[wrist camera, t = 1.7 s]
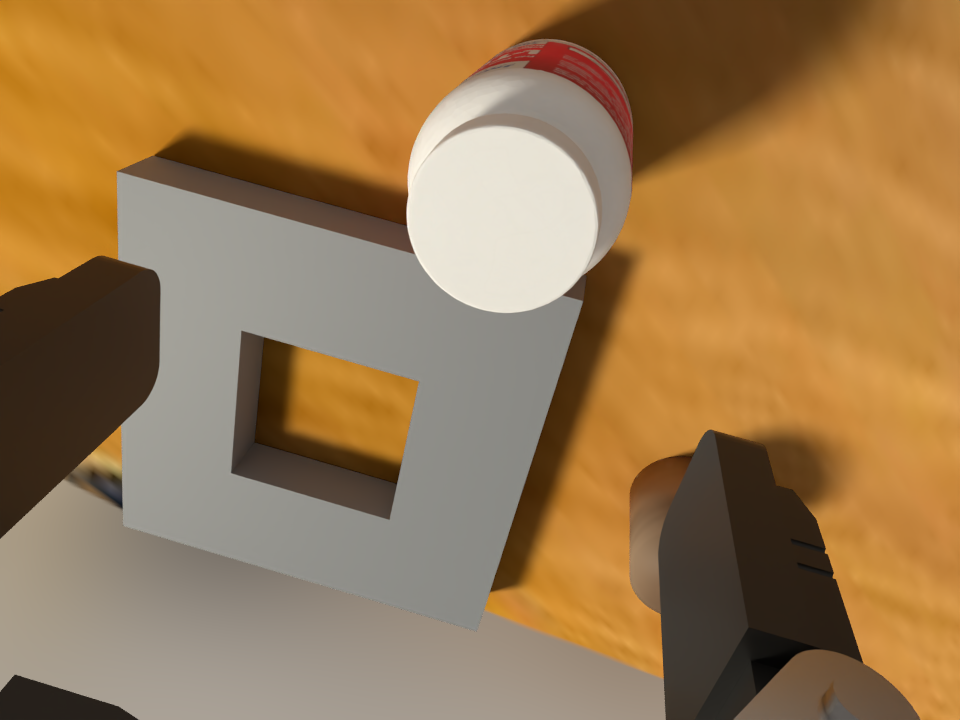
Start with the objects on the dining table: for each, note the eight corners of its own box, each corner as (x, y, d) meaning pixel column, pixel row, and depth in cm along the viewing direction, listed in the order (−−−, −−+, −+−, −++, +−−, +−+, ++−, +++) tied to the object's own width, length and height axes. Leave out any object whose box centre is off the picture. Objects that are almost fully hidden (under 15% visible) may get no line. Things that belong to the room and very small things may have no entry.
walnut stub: (750, 473, 33) (768, 552, 29) (711, 548, 35) (723, 632, 31) (648, 444, 33) (651, 518, 29) (616, 521, 36) (614, 600, 31)
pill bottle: (547, -5, 26) (496, 24, 16) (669, 127, 27) (690, 227, 17) (428, 129, 29) (325, 222, 19) (544, 244, 30) (503, 385, 20)
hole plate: (586, 275, 30) (583, 301, 28) (485, 593, 39) (476, 631, 37) (152, 155, 31) (116, 171, 29) (150, 494, 40) (123, 525, 38)
